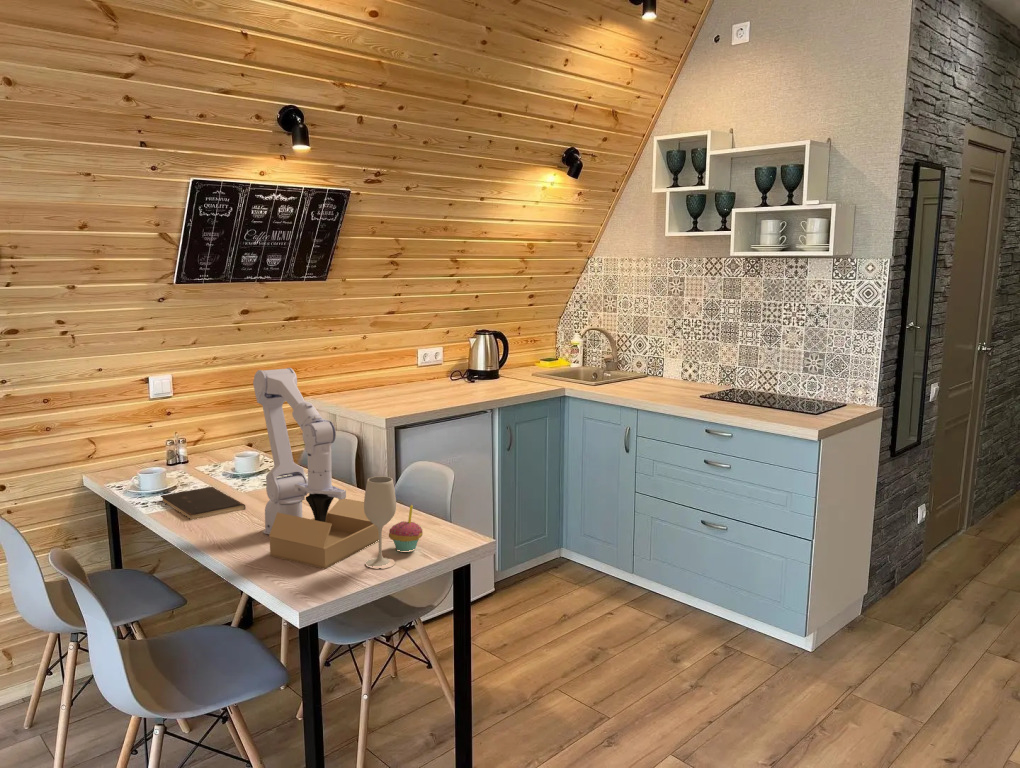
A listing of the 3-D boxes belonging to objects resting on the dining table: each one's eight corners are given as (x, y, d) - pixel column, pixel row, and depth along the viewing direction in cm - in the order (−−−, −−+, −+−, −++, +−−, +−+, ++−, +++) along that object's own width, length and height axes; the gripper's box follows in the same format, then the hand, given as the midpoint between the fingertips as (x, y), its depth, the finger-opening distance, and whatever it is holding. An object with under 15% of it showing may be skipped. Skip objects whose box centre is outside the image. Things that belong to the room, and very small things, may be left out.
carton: (270, 556, 192) (269, 536, 191) (328, 529, 211) (327, 512, 211) (325, 569, 185) (324, 548, 184) (379, 540, 204) (379, 522, 203)
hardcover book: (190, 522, 217) (189, 514, 216) (161, 502, 233) (160, 495, 233) (245, 511, 227) (245, 503, 227) (214, 493, 244) (213, 486, 244)
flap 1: (332, 523, 186) (330, 523, 185) (324, 548, 184) (322, 548, 183) (278, 512, 193) (277, 512, 192) (270, 536, 191) (269, 536, 191)
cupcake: (406, 541, 204) (406, 497, 202) (429, 549, 199) (430, 504, 197) (381, 550, 198) (381, 504, 196) (405, 558, 192) (405, 511, 190)
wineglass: (373, 572, 183) (373, 485, 180) (358, 562, 189) (358, 478, 186) (401, 565, 188) (402, 480, 185) (386, 555, 194) (386, 473, 191)
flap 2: (340, 497, 215) (341, 499, 215) (328, 512, 211) (328, 513, 211) (390, 506, 208) (391, 508, 208) (379, 522, 203) (379, 523, 204)
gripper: (285, 469, 192) (286, 522, 194) (332, 477, 186) (333, 532, 188) (304, 463, 199) (305, 514, 201) (351, 470, 192) (351, 523, 194)
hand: (320, 522), depth 195 cm, fingers closed
